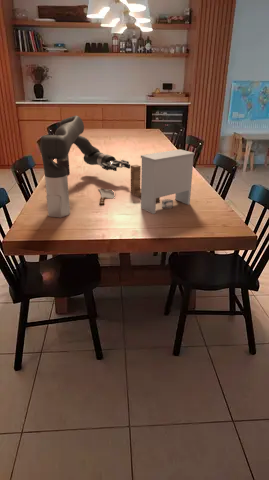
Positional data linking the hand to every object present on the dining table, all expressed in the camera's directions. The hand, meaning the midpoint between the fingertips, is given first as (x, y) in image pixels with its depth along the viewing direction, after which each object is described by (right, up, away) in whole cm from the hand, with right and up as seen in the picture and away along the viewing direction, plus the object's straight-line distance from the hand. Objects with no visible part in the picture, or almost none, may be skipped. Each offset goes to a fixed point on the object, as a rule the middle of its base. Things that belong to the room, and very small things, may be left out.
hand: (122, 167), depth 189 cm
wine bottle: (-36, +1, +27) cm, 45 cm away
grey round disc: (+21, -23, -22) cm, 38 cm away
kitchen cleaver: (-8, -17, -10) cm, 21 cm away
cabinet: (+21, -22, -21) cm, 37 cm away
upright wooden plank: (+11, -16, -9) cm, 22 cm away
